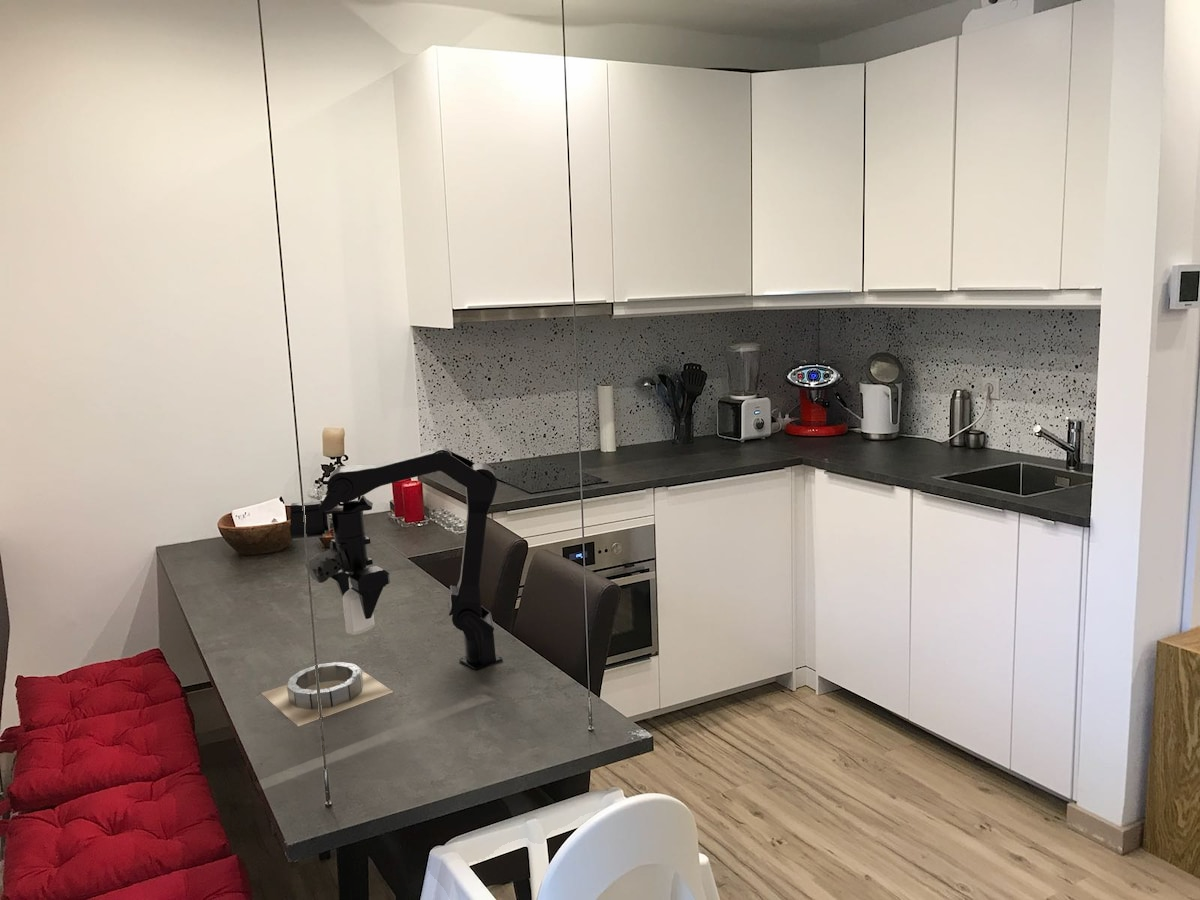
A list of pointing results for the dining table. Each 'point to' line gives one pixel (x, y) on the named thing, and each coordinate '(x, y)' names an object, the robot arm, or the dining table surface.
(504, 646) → the dining table surface
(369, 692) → the birch board
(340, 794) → the dining table surface
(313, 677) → the steel collar
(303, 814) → the dining table surface
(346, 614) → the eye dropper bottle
